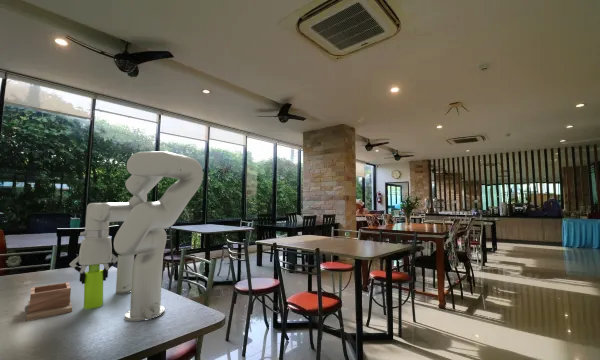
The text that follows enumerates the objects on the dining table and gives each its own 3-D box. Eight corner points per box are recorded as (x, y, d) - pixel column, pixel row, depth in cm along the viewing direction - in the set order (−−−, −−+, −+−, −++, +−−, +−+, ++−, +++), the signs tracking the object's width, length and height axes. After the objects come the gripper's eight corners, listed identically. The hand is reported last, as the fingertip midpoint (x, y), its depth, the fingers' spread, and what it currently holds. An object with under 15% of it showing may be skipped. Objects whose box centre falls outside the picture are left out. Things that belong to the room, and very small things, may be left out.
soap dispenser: (77, 308, 105) (78, 255, 106) (97, 302, 111) (98, 251, 112) (85, 311, 102) (86, 256, 103) (106, 304, 108) (106, 252, 109)
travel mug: (127, 294, 121) (129, 248, 122) (112, 294, 121) (115, 247, 123) (136, 290, 127) (138, 245, 129) (121, 290, 127) (124, 245, 129)
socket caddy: (72, 311, 102) (73, 290, 102) (26, 320, 93) (28, 297, 94) (68, 297, 116) (69, 279, 117) (28, 304, 108) (29, 285, 109)
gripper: (69, 237, 100) (65, 288, 99) (124, 233, 112) (121, 279, 110) (67, 235, 106) (63, 283, 104) (120, 232, 117) (118, 275, 116)
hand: (93, 281), depth 107 cm, fingers closed on soap dispenser, 6 cm apart
